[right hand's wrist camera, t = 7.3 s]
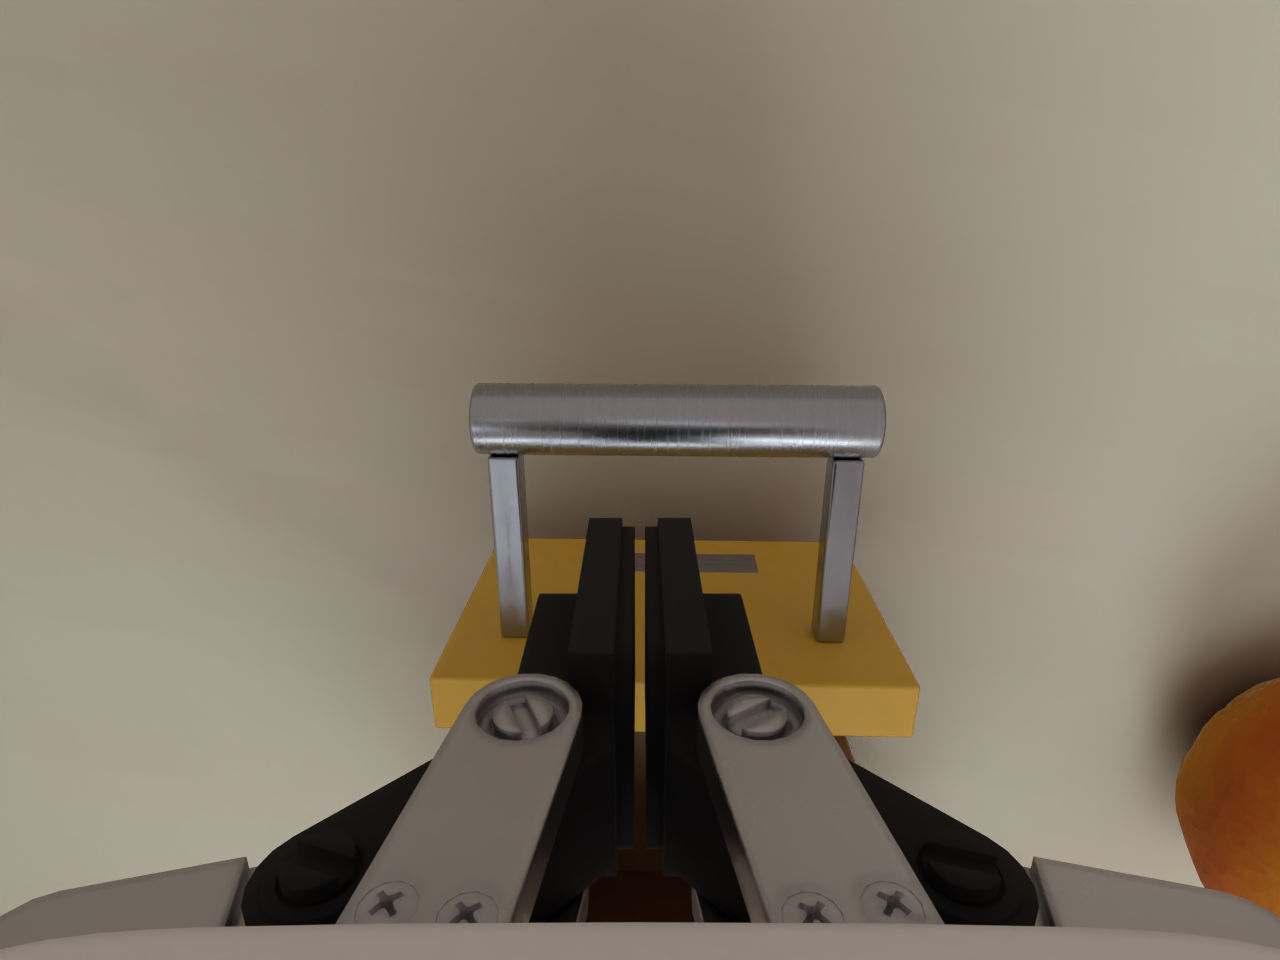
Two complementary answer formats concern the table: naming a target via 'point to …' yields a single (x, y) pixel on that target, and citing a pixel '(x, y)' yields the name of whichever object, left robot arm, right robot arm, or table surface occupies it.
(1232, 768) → the fruit
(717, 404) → the drawer
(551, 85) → the table surface
